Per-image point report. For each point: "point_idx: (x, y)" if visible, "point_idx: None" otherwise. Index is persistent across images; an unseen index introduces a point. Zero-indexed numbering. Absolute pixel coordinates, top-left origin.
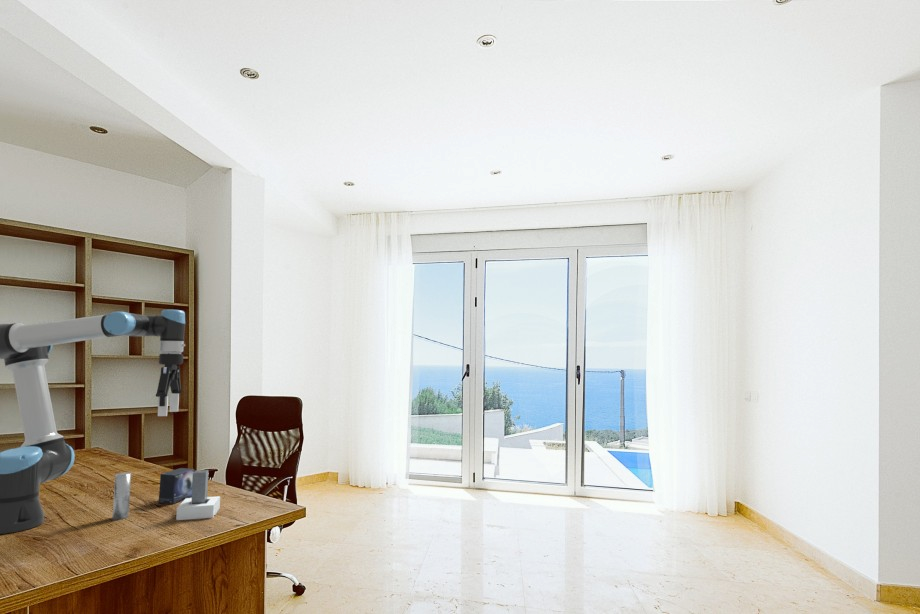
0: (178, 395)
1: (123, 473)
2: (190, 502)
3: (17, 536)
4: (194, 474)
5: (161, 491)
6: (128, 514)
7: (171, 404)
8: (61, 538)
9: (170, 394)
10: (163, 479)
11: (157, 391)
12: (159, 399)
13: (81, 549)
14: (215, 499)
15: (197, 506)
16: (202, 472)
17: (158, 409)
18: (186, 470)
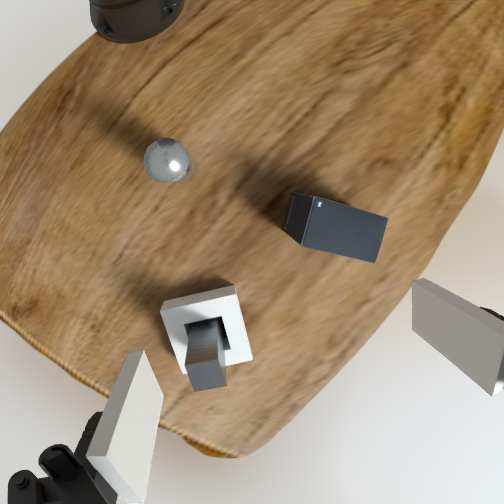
0: (482, 387)
1: (172, 156)
2: (204, 319)
3: (81, 56)
4: (186, 366)
5: (297, 201)
6: (185, 181)
7: (442, 312)
8: (62, 141)
9: (499, 336)
10: (305, 207)
11: (10, 496)
12: (96, 443)
13: (21, 220)
14: (225, 361)
15: (173, 347)
16: (193, 384)
17: (118, 383)
18: (357, 251)
